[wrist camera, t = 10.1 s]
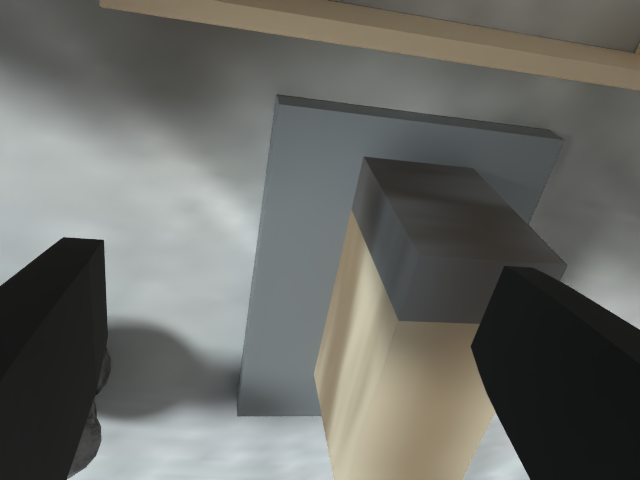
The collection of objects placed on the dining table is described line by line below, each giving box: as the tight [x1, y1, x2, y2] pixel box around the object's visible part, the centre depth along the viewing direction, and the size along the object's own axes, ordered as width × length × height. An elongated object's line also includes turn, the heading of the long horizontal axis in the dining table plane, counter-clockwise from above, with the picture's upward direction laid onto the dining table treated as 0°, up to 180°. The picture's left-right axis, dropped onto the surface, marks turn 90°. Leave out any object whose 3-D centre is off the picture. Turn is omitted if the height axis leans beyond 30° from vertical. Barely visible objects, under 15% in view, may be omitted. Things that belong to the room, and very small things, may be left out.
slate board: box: [237, 95, 564, 416], centre depth 21 cm, size 10×14×1 cm
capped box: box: [314, 156, 567, 480], centre depth 18 cm, size 4×10×6 cm, turn 170°
